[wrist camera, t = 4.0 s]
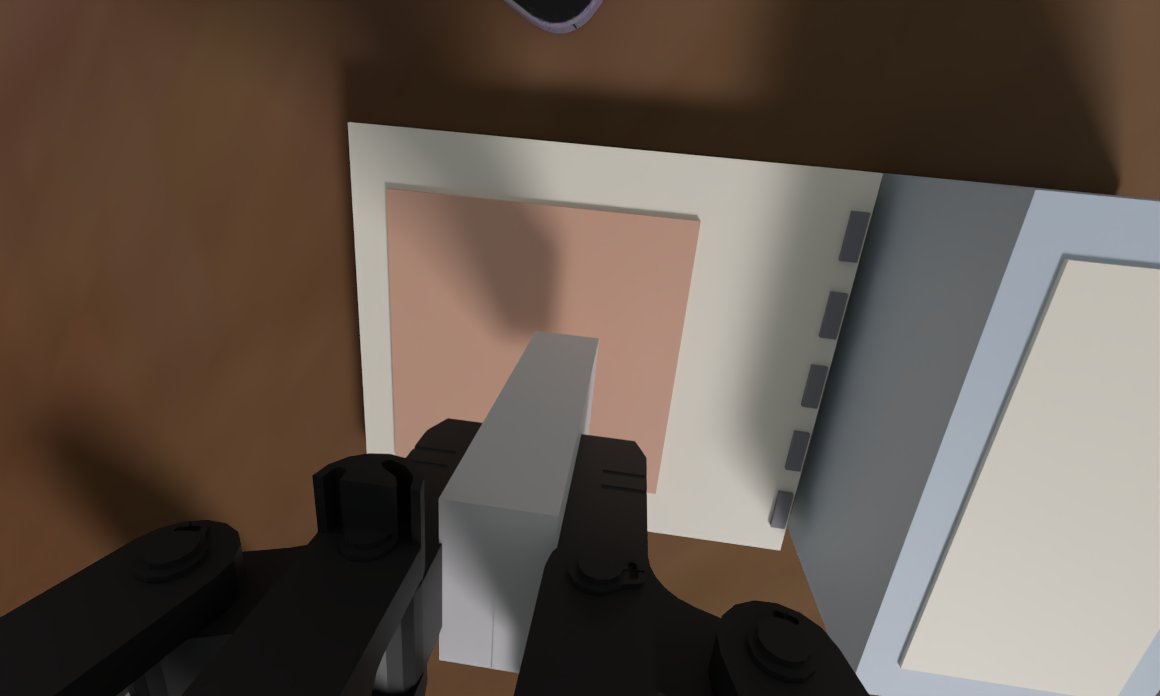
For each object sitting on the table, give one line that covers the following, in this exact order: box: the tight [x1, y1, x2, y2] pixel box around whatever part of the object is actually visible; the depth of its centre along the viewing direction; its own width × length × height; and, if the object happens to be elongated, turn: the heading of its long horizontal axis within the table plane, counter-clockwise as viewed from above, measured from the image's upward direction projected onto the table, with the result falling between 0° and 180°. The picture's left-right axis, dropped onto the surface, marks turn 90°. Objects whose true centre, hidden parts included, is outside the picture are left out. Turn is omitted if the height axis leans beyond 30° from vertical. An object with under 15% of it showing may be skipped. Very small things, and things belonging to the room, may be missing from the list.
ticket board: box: [348, 122, 883, 550], centre depth 16 cm, size 13×11×2 cm
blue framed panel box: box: [787, 173, 1160, 696], centre depth 13 cm, size 6×11×6 cm, turn 175°
